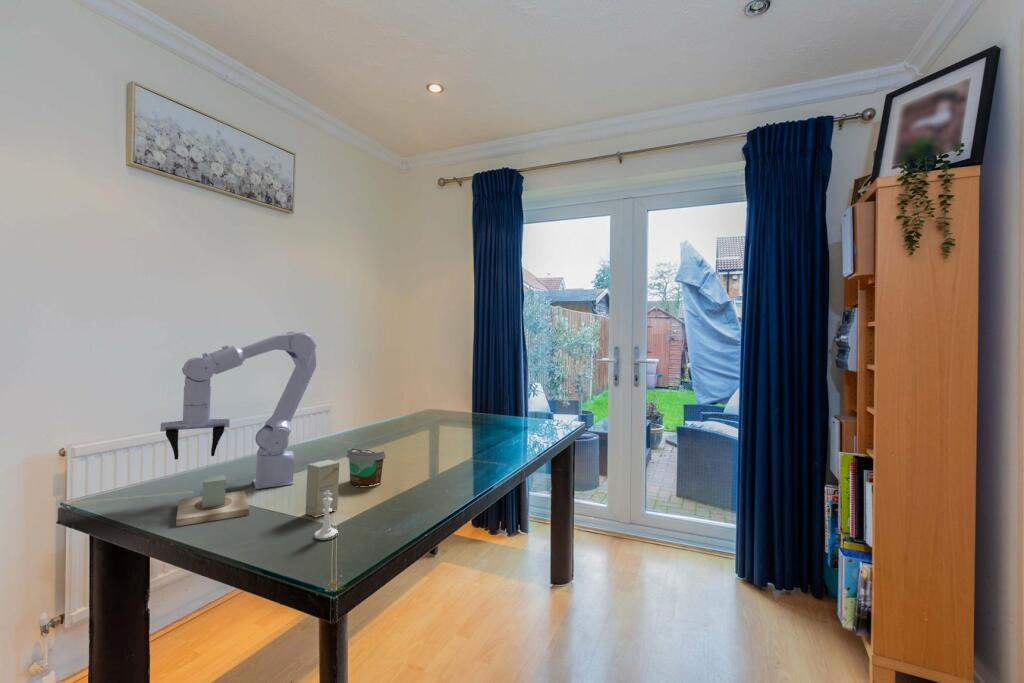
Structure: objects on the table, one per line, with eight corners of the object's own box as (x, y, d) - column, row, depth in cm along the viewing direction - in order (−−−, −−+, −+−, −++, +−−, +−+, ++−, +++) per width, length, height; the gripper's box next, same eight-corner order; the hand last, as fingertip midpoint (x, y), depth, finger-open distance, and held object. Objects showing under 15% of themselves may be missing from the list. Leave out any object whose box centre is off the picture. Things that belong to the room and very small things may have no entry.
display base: (244, 496, 121) (244, 489, 120) (249, 514, 109) (249, 507, 109) (178, 505, 113) (178, 498, 113) (176, 526, 101) (176, 518, 101)
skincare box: (315, 518, 109) (317, 467, 109) (304, 514, 111) (306, 463, 111) (338, 510, 114) (340, 461, 114) (327, 506, 116) (329, 458, 116)
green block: (223, 498, 114) (224, 474, 114) (225, 504, 110) (226, 479, 110) (202, 501, 111) (203, 476, 111) (202, 507, 108) (203, 482, 108)
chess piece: (329, 542, 97) (331, 495, 97) (308, 539, 98) (310, 492, 98) (342, 532, 102) (344, 488, 102) (322, 530, 103) (324, 485, 103)
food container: (336, 484, 133) (337, 450, 133) (350, 478, 139) (352, 445, 139) (370, 491, 128) (371, 456, 128) (384, 485, 134) (385, 451, 134)
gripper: (160, 408, 111) (158, 464, 111) (230, 405, 119) (228, 457, 119) (162, 403, 117) (160, 457, 117) (229, 401, 125) (227, 451, 125)
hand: (194, 456), depth 118 cm, fingers open, 7 cm apart
